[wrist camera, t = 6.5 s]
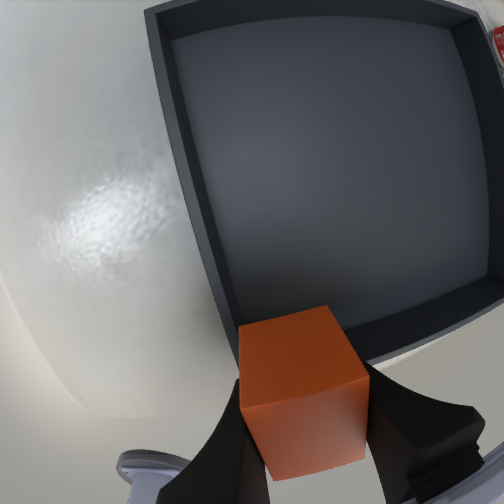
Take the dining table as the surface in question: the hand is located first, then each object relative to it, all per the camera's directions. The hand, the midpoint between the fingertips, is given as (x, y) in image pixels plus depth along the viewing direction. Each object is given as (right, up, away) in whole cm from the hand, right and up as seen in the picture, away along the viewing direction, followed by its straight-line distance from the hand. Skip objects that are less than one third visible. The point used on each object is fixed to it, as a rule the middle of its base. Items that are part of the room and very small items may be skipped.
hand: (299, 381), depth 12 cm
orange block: (0, 0, +1) cm, 1 cm away
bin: (+6, +11, +5) cm, 14 cm away
